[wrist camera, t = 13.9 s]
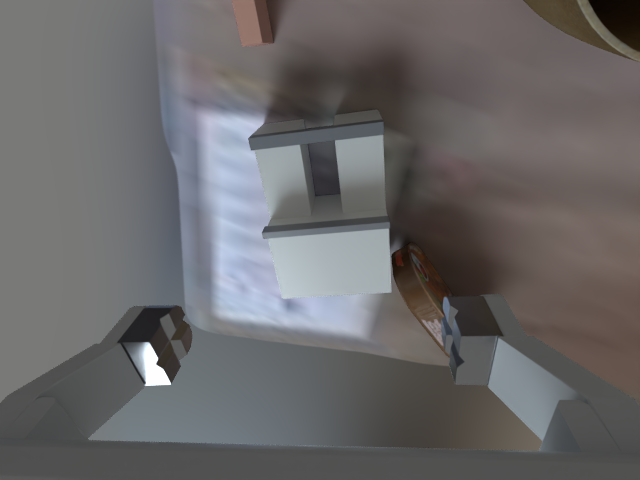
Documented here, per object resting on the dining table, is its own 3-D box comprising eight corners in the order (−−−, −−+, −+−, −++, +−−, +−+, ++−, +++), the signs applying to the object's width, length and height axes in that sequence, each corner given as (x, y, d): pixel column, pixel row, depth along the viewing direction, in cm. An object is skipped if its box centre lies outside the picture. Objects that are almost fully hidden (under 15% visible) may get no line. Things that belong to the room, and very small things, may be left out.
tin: (466, 314, 43) (490, 369, 36) (443, 324, 44) (462, 379, 37) (406, 228, 37) (420, 272, 30) (382, 242, 38) (390, 288, 31)
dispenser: (377, 109, 31) (386, 128, 24) (384, 254, 39) (392, 300, 32) (263, 124, 33) (240, 146, 26) (292, 261, 41) (280, 306, 34)
